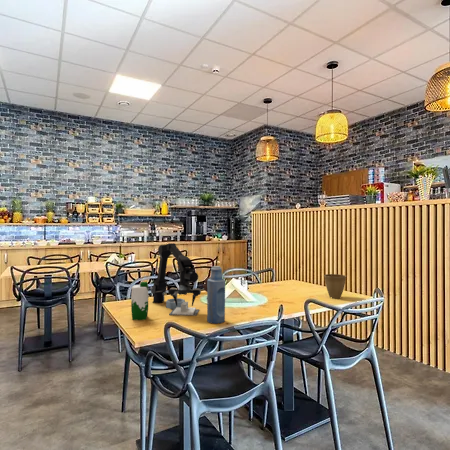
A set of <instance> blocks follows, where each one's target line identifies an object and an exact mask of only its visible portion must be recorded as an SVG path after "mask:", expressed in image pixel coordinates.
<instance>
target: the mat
mask: <svg viewBox="0 0 450 450" xmlns="http://www.w3.org/2000/svg"><path fill="white" fill-rule="evenodd" d="M174 310H175V309H171V311H170V312H169V316H182V315H181V314H172V313H173V311H174ZM199 312H200V308H198V309H197V308H196V310H195V312H194V314H193V315H186V316H188V317H189V316H193V317H197V316H198V313H199Z"/></svg>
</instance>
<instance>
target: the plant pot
mask: <svg viewBox="0 0 450 450" xmlns="http://www.w3.org/2000/svg"><path fill="white" fill-rule="evenodd" d="M323 276H324V282H325V286H326V291H327V294H328V297H329V298H330V297H332V298H331V299H335V298H339V299H341V298H342V295H343V292H344V290H345V285H346V279H347V275H344V274H338V273H337V274H336V273H330V274H329V273H328V274H324V275H323ZM340 297H341V298H340Z"/></svg>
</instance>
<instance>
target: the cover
mask: <svg viewBox="0 0 450 450" xmlns="http://www.w3.org/2000/svg"><path fill="white" fill-rule="evenodd" d="M196 309H197V307H189V301H185V302H183V303H182V304H181V307H176V309H175V310H174V311H173V313H172V314H181V315H180V316H187V315H193V314H194V312H195V310H196Z"/></svg>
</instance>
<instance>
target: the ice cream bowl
mask: <svg viewBox="0 0 450 450" xmlns="http://www.w3.org/2000/svg"><path fill="white" fill-rule="evenodd" d="M210 278H211V276H209V277H206V278H204V284H202V288H203V290H204V291H205V292H206V293H207V280H208V279H210Z"/></svg>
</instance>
